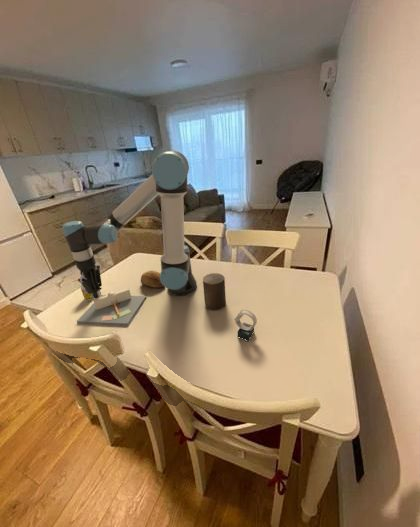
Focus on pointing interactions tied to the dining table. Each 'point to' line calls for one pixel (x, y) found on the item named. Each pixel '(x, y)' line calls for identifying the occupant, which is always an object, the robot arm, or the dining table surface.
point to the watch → (245, 324)
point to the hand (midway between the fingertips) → (100, 302)
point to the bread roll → (151, 279)
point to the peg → (112, 299)
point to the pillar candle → (214, 291)
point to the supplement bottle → (86, 294)
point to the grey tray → (113, 312)
